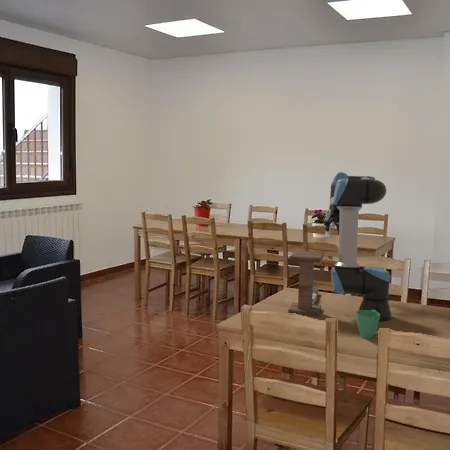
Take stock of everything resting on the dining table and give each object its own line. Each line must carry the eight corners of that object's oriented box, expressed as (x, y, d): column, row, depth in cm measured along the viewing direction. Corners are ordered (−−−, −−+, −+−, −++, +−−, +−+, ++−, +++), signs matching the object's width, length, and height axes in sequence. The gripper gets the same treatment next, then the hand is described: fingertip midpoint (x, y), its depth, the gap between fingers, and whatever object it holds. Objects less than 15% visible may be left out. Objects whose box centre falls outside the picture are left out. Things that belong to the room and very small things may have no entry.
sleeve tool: (313, 304, 279) (314, 298, 279) (304, 303, 281) (304, 297, 281) (319, 294, 300) (319, 288, 300) (310, 293, 302) (310, 288, 301)
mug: (375, 341, 224) (376, 318, 223) (351, 337, 229) (352, 314, 228) (384, 332, 236) (386, 309, 235) (362, 328, 241) (363, 306, 240)
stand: (317, 317, 256) (320, 258, 253) (287, 314, 260) (289, 256, 257) (321, 308, 272) (323, 252, 268) (293, 306, 275) (295, 250, 272)
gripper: (340, 217, 312) (338, 252, 303) (319, 198, 295) (315, 233, 286) (352, 215, 307) (350, 250, 299) (331, 195, 290) (328, 231, 282)
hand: (333, 242), depth 292 cm, fingers open, 13 cm apart
